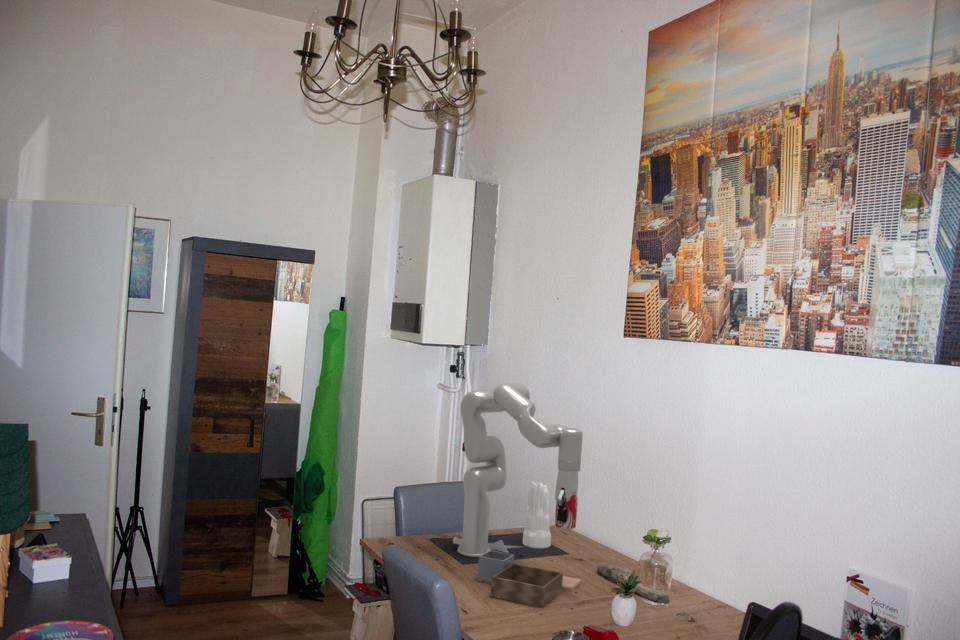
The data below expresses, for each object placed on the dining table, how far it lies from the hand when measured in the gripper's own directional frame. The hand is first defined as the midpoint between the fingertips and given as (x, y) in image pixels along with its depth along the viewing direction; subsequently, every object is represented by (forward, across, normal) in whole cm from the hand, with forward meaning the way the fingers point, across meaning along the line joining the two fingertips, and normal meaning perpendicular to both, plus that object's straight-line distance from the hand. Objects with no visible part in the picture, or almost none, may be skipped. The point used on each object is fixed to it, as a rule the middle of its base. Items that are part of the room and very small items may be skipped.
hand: (565, 518), depth 267 cm
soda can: (+3, 0, 0) cm, 3 cm away
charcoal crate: (+22, +10, -20) cm, 31 cm away
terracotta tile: (+21, 0, 0) cm, 21 cm away
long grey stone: (+22, -12, +20) cm, 32 cm away
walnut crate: (+21, +17, -6) cm, 28 cm away
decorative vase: (+22, -39, -24) cm, 51 cm away
